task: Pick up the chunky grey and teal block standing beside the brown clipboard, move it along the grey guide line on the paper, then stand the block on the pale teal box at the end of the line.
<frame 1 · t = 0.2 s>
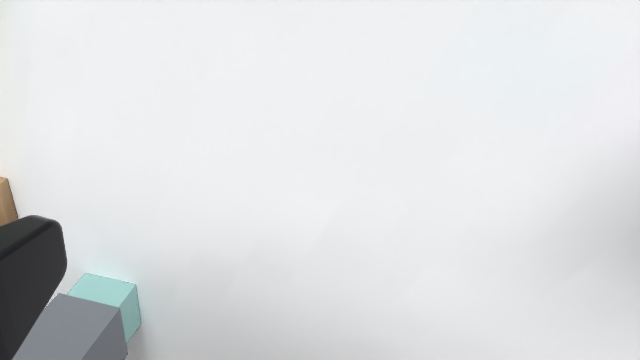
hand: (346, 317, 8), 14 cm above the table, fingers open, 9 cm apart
grey and teal block: (114, 298, 32), on the table
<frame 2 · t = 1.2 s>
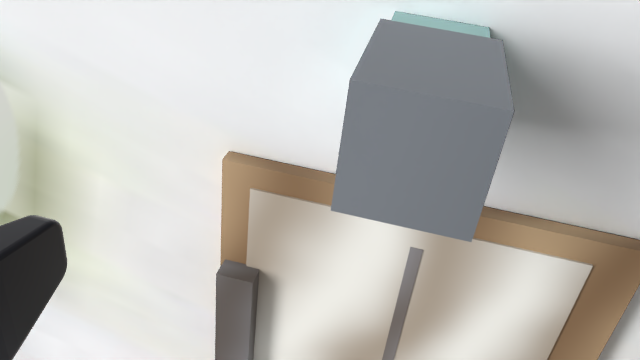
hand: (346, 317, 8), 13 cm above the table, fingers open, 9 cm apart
grey and teal block: (431, 63, 19), on the table
clipboard: (391, 339, 25), on the table
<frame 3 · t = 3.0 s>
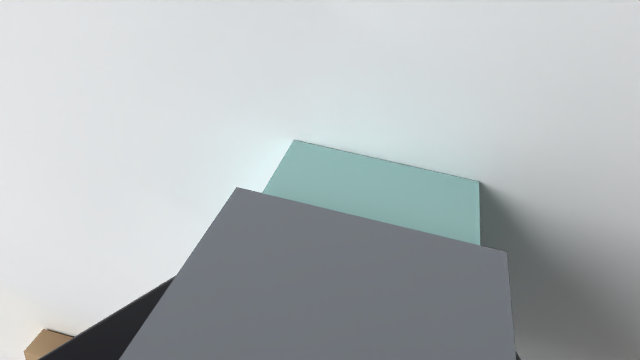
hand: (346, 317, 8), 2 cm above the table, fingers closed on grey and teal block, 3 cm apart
grey and teal block: (368, 234, 10), on the table, touching gripper
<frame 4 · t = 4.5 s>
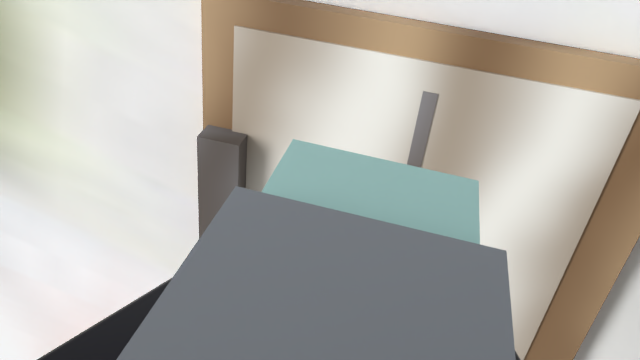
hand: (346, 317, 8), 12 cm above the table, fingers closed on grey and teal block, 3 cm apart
grey and teal block: (367, 233, 10), point 10 cm above the table, touching gripper
clipboard: (400, 223, 22), on the table
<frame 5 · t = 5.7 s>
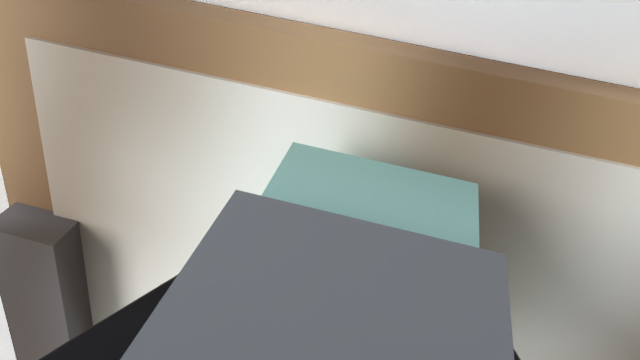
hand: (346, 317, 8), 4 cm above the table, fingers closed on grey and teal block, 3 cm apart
grey and teal block: (367, 235, 10), point 2 cm above the table, touching gripper
clipboard: (342, 359, 14), on the table
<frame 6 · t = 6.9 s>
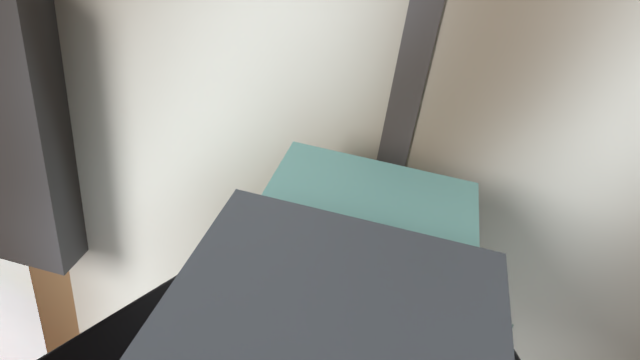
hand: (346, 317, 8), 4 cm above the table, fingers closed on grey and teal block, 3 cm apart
grey and teal block: (367, 235, 10), point 2 cm above the table, touching gripper
clipboard: (386, 183, 11), on the table
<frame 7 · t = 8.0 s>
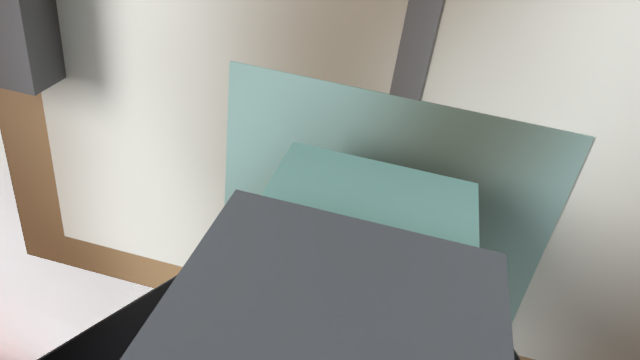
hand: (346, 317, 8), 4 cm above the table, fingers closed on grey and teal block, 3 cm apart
grey and teal block: (367, 235, 10), point 2 cm above the table, touching gripper
when the fingers open (3 cm above the table, at t = 8.3 s): grey and teal block stays where it is, resting on clipboard.
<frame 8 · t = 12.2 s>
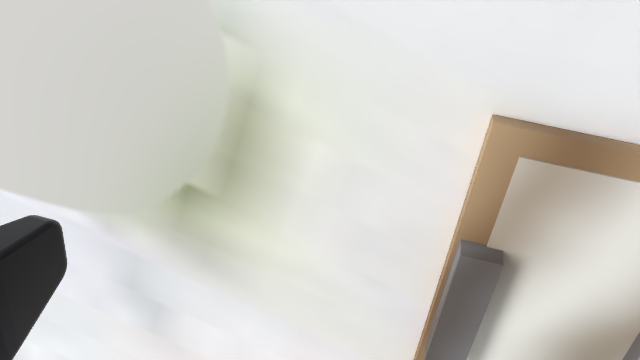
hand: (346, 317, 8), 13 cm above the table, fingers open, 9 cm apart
clipboard: (633, 331, 23), on the table
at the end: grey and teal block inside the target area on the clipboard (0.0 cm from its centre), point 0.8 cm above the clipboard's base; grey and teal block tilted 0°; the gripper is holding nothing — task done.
